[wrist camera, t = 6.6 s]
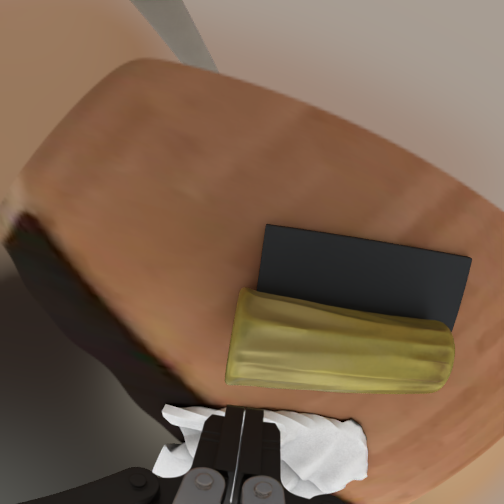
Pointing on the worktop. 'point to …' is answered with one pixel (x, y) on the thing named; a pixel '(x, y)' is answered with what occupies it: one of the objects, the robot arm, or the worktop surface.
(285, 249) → the mat
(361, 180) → the worktop surface
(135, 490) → the robot arm
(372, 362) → the vase
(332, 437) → the cloth
